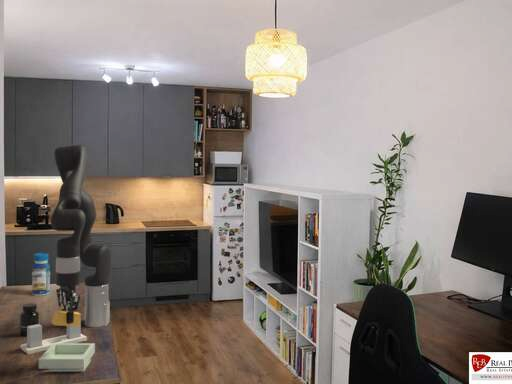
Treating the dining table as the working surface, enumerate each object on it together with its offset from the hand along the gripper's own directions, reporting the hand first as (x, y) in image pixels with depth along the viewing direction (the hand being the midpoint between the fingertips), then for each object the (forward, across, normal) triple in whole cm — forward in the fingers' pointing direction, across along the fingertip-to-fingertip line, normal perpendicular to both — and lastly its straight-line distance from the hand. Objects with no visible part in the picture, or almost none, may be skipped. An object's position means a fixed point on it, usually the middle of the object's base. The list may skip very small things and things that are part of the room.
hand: (67, 321), depth 166 cm
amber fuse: (-2, 0, +4) cm, 5 cm away
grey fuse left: (+13, +17, +4) cm, 22 cm away
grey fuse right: (+13, +17, -10) cm, 23 cm away
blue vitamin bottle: (+14, +92, -26) cm, 96 cm away
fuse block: (+14, +17, -3) cm, 22 cm away
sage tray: (+14, 0, 0) cm, 14 cm away
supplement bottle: (+14, +34, 0) cm, 37 cm away
